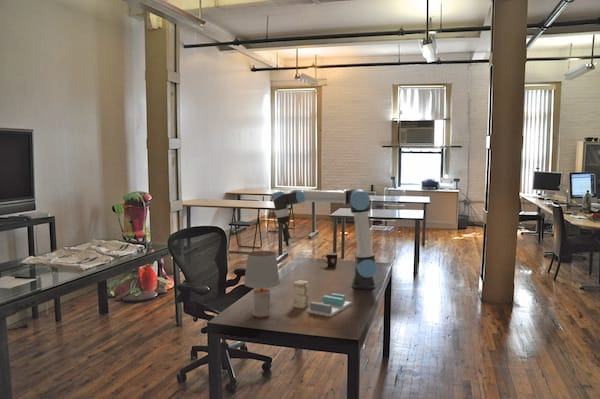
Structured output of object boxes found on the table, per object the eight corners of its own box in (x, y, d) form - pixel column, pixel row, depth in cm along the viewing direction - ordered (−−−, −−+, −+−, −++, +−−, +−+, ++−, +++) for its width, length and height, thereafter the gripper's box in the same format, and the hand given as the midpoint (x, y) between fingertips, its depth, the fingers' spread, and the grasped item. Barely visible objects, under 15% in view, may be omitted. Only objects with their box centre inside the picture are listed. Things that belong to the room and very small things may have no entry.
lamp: (266, 324, 246) (265, 259, 243) (237, 318, 256) (236, 254, 253) (286, 314, 262) (286, 252, 259) (258, 308, 272) (258, 248, 269)
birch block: (299, 303, 281) (299, 280, 279) (308, 305, 278) (308, 281, 276) (293, 306, 276) (294, 282, 274) (302, 308, 273) (303, 284, 271)
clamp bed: (329, 300, 287) (329, 291, 286) (351, 304, 280) (351, 295, 279) (308, 312, 266) (308, 302, 265) (330, 317, 258) (330, 306, 258)
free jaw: (329, 299, 284) (329, 292, 284) (348, 302, 278) (348, 295, 278) (322, 303, 277) (322, 296, 277) (341, 306, 271) (341, 299, 271)
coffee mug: (338, 265, 375) (339, 253, 374) (336, 268, 367) (336, 255, 366) (324, 264, 379) (324, 252, 378) (321, 267, 371) (321, 254, 370)
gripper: (278, 216, 312) (284, 249, 312) (275, 218, 287) (282, 253, 287) (289, 214, 312) (296, 246, 312) (287, 216, 287) (294, 251, 287)
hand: (289, 250), depth 299 cm, fingers open, 13 cm apart
